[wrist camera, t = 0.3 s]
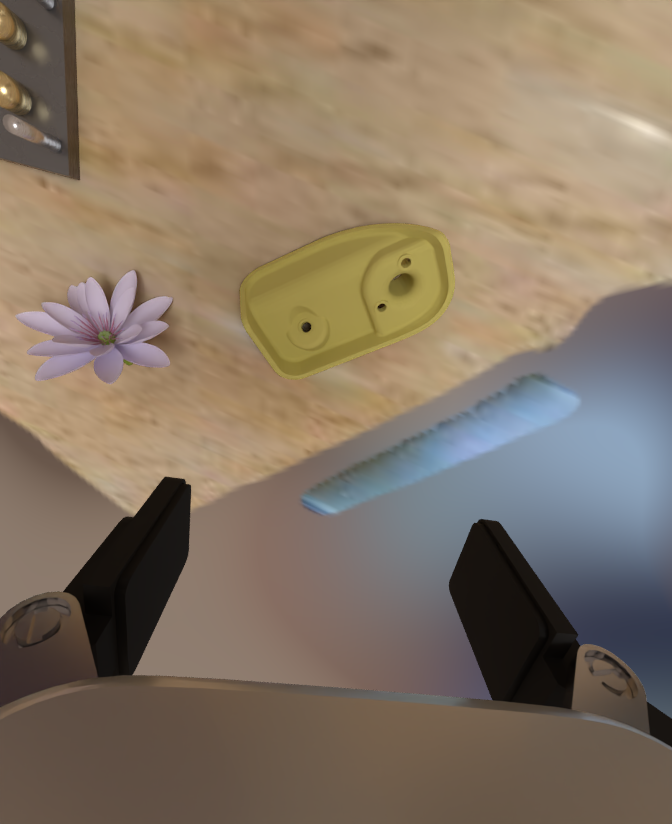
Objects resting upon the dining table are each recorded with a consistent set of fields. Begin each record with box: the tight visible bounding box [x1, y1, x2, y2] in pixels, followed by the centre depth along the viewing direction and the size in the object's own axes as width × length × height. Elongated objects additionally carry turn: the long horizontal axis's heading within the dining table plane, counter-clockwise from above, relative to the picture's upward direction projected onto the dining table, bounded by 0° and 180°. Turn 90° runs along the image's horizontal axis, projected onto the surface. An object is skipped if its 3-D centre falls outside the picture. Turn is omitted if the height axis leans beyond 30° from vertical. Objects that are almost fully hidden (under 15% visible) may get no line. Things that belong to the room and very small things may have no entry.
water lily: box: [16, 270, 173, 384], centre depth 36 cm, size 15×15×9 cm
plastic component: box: [239, 223, 455, 380], centre depth 36 cm, size 20×7×10 cm
